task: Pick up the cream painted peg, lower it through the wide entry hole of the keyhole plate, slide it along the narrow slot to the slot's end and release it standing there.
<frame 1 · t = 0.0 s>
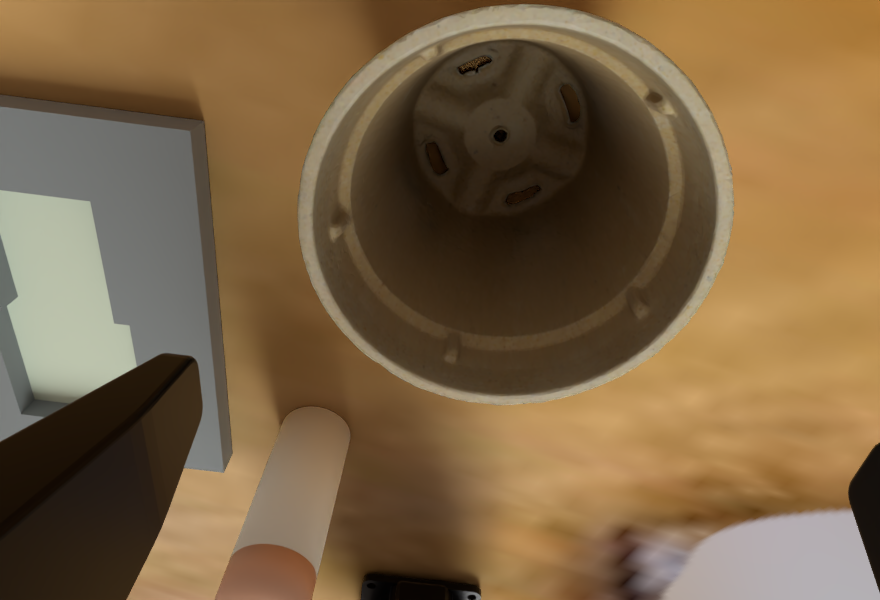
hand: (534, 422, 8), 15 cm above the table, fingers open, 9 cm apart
keyhole plate: (74, 296, 25), on the table
flower pot: (497, 127, 21), on the table
cream peg: (316, 432, 29), on the table
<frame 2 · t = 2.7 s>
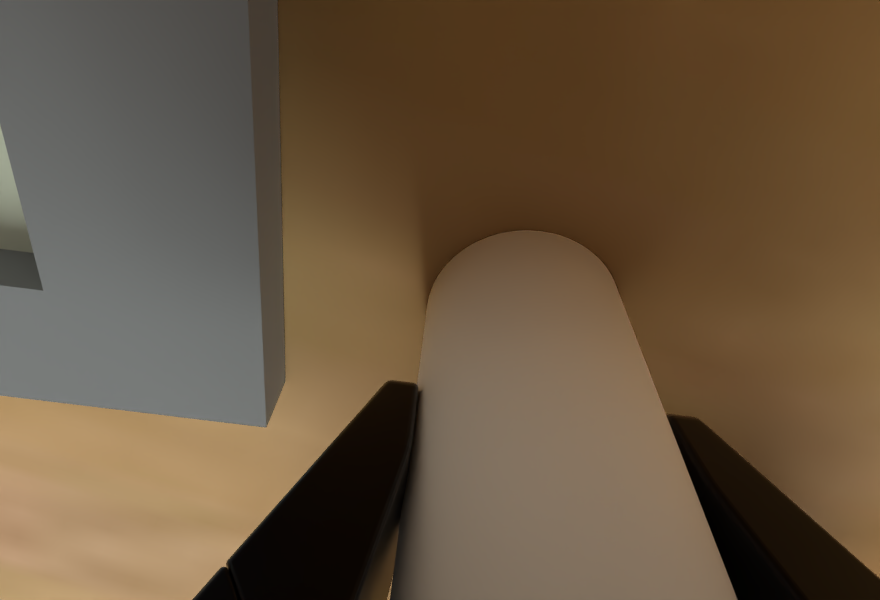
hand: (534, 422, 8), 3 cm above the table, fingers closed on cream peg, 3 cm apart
cream peg: (522, 317, 10), on the table, touching gripper
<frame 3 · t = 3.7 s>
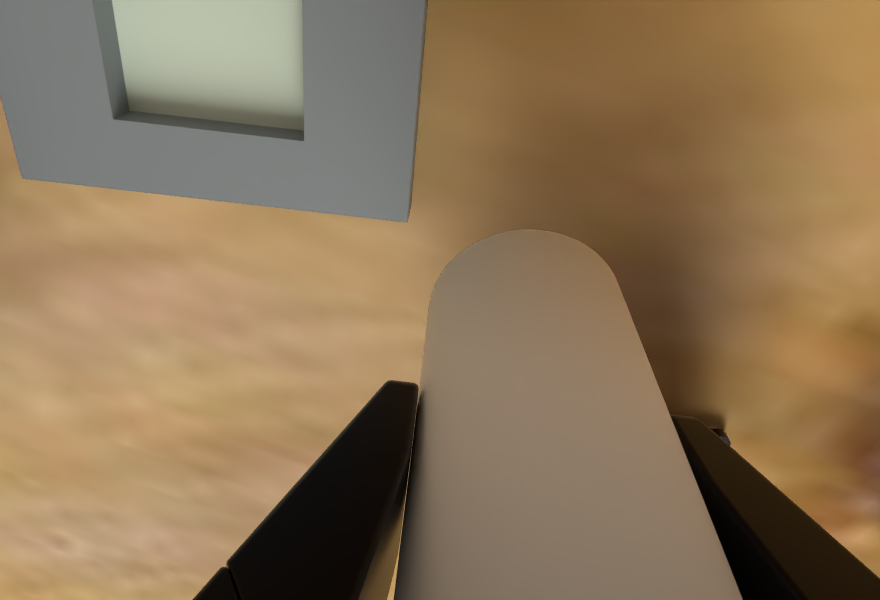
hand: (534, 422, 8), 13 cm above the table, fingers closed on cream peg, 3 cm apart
cream peg: (524, 316, 10), point 10 cm above the table, touching gripper
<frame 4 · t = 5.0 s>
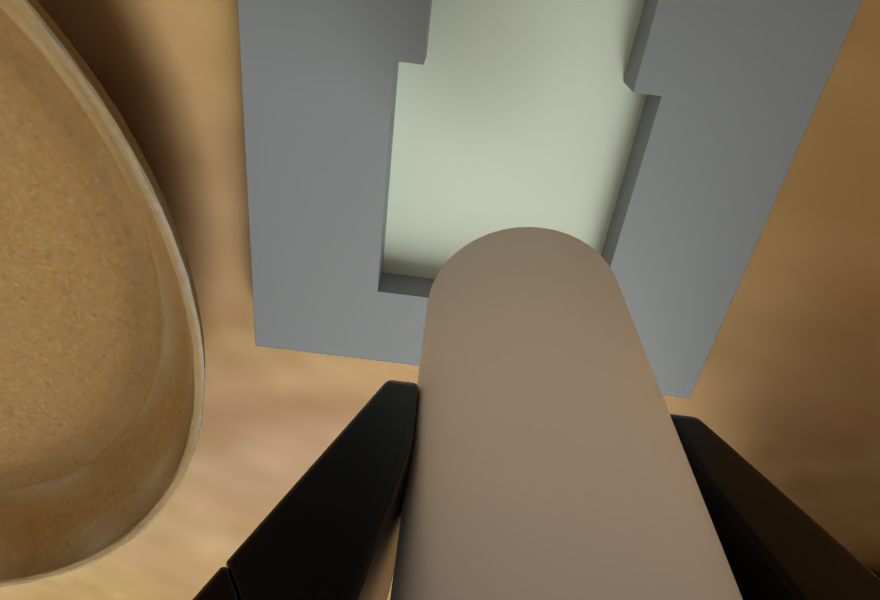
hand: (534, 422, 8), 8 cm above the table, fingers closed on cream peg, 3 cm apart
keyhole plate: (526, 57, 14), on the table
cream peg: (523, 314, 10), point 6 cm above the table, touching gripper
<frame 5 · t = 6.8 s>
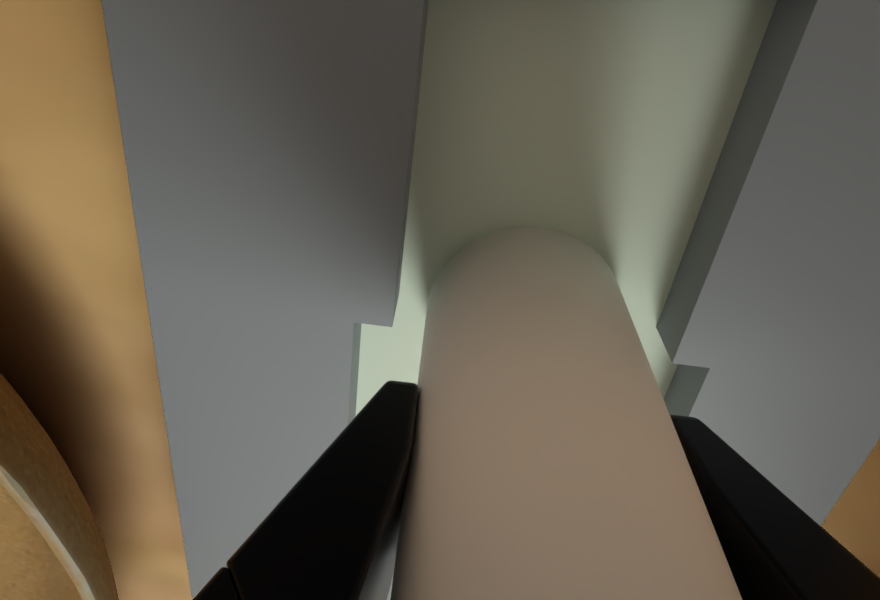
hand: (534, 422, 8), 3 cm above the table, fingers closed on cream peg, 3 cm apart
keyhole plate: (529, 294, 11), on the table
cream peg: (523, 314, 10), resting on keyhole plate, touching gripper
when the fingers open (3 cm above the table, at t = 7.7 s): cream peg stays where it is, resting on keyhole plate.
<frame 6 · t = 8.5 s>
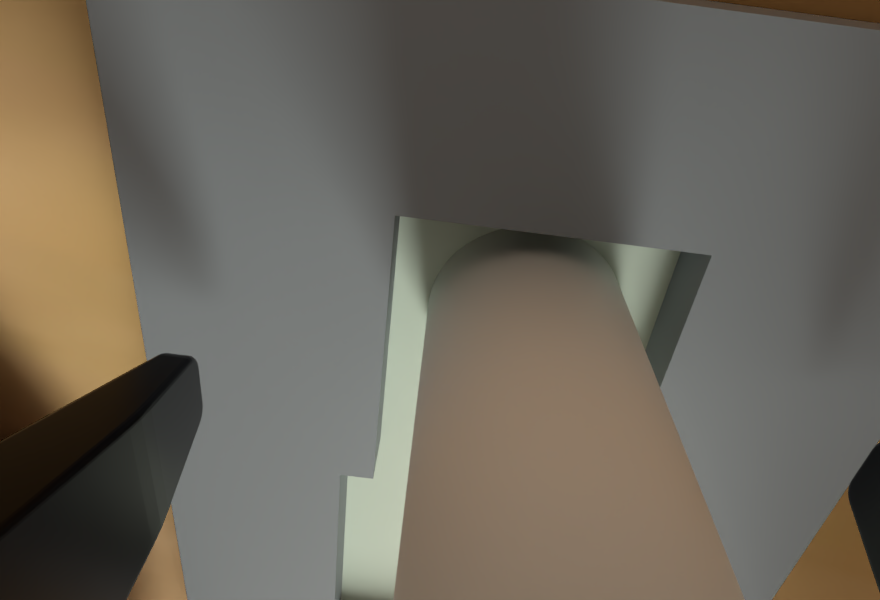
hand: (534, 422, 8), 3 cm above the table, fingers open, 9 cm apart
keyhole plate: (493, 437, 12), on the table
cream peg: (523, 313, 10), resting on keyhole plate
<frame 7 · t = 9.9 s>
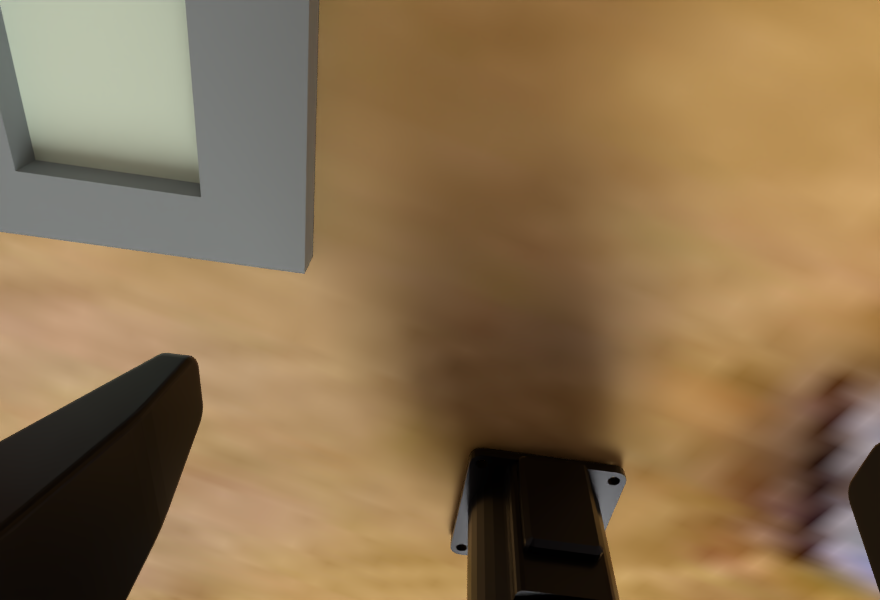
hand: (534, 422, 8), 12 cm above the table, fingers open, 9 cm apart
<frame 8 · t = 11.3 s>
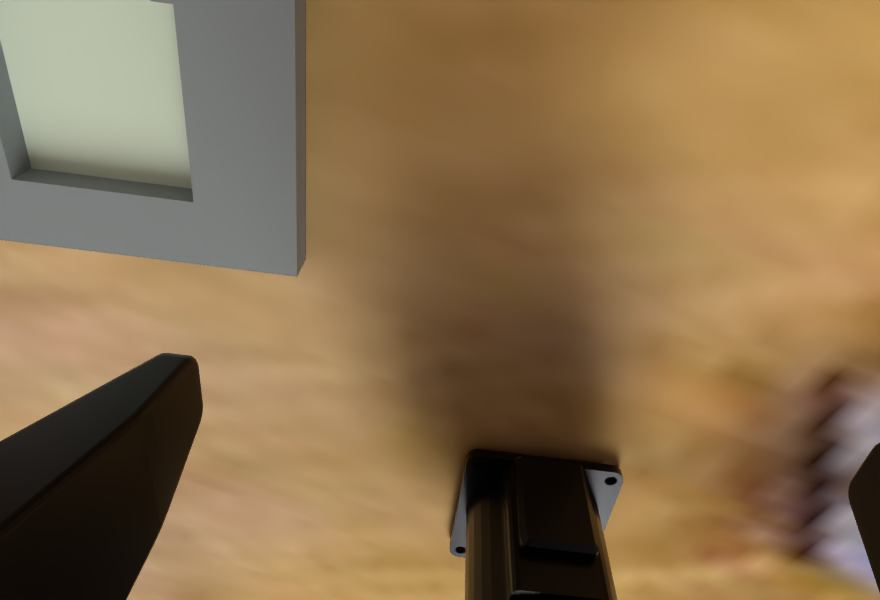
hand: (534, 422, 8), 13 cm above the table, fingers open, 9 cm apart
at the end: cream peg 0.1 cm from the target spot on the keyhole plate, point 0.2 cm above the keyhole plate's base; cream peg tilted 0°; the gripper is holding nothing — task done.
